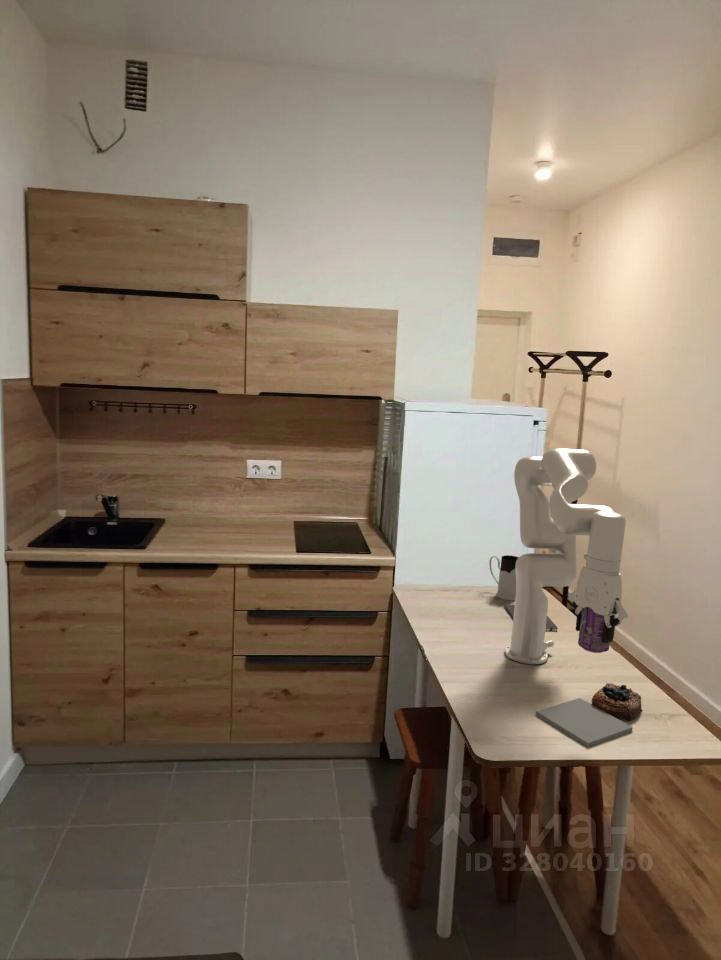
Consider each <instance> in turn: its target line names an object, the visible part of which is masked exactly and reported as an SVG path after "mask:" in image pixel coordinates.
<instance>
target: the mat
mask: <svg viewBox="0 0 721 960" xmlns="http://www.w3.org/2000/svg"><path fill="white" fill-rule="evenodd" d="M535 716H537V717H539V718H540V719H542V720H543V721H545V722H546V723H548V724H550V725H551V726H553V727H555V728H556V729H558V730H559V731H561V732H563V733H564V734H566V735H567V736H569V737H571V738H572V739H574V740H576V742H579V743H580V744H582V745H583V746H585V747H587V748H589V747H591V746H594V745H595V746H596V745H597V744H600V743H603V742H605V741H608V740H611V739H613V738H617V737H620V736H622V735H625V734H628V733H630V732H633V729H634V727H633V726H631V725H630V724H627V723H626V722H624V721H623V720H621V719H617V718H615V717H613V716H612V715H610V714H608V713H606V712H604V711H603V710H601V709H599V708H597V707H595V706H594V705H592V703H591V702H588V701H586V700H585V699H582V698H581V697H578V698H575V699H571V700H568V701H566V702H562V703H559V704H555V705H551V706H548V707H545V708H541V709H538V710H536V711H535Z"/></svg>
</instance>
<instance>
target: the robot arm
mask: <svg viewBox="0 0 721 960" xmlns="http://www.w3.org/2000/svg"><path fill="white" fill-rule="evenodd" d="M596 472H597V461H596V458H595V456H594V454H592V452H590V451H589V450H586V449H577V448H574V449H573V448H561V447H560V448H552V449H550V450H547V451H546V452H545V453H544V454H543V455H542V456H540V455H539V456H536V455H535V456H534V455H533V456H526V457H522V458H520V459H519V460H518V461H517V462H516V464H515V467H514V472H513V473H514V474H513V475H514V479H513V480H514V485H515V490H516V492H517V496H518V501H519V534H520V537H519V538H520V542H521V543H522V546H523V547H525V548H528V549H536V550H537V549H538V550H539V549H542V550H555V553H543V552H541V553H540V552H539V553H537V552H535V553H534V552H533V553H532V552H528V553H524V554H522V555H520V556H518V557H519V558H518V559H517V561H516V566H515V571H516V598H515V600H514V601H515V602H514V605H515V609H514V618H513V619H512V629H511V637H510V638H511V639H510V644H509V645H506V646H505V648H504V655H505V656H506V657H508V658H509V659H511V660H512V661H515V662H517V663H521V664H526V665H540V664H544V663H546V662H547V661H548V657H549V655H548V653H547V652H546V650H547V649H548V648H553V647H554V646H555V643H554V641H553V640H552V639H551V640H546V641H545V639H546V638H545V635H546V631H545V629H546V620H547V616H548V610H549V599H548V596H546V595H547V594H545V592H544V591H543V587H570V586H572V585H573V584H574V583H575V582H576V578H577V537H576V536H588V545H587V546H588V547H587V553H585V554H584V555H583V559H584V560H585V561H586V562H585V565H582V566H581V569H580V572H579V576H578V579H577V583H576V588H575V590H574V591H572V592H570V593H569V598H570V601H571V602H572V606H573V608H574V610H575V611H574V613H575V614H576V621H575V622H576V623H575V631H577V632H579V631H580V623H581V615H582V608H585V607H590V608H591V609H592V610H593V611H594V612H595V613H596V614H598V615H601V616H604V620H605V623H606V626H604V628H603V635H602V642H603V643H608V642H610V643H612V642H613V640H614V637H615V629H616V627H618V626H619V625H620V624H622V623H623V622H624V621H625V620H626V619H628V618H629V614H628V613H627V611H626V609H625V608H624V607H623V606H622V592H623V589H622V588H623V584H622V580H623V579H622V574H621V573H620V569H621V561H622V554H623V553H622V552H623V545H624V538H625V531H626V523H627V522H626V521H627V520H626V517H624V515H623V514H620V513H619V512H615V510H614V509H613V508H612V507H610V506H607V505H600V504H599V505H598V504H583V503H582V504H581V503H580V504H579V503H573V502H575V501H577V500H579V499H581V498H582V497H583V496H584V495H586V493H587V490H588V488H589V480H591V479H592V478H593V477H594V476H595V473H596ZM540 486H544V487H545V486H546V487H552V488H553V490H552V492H551V494H550V498H548V496H547V495H546V493H545V492H544V491H543V489H542V488H541V487H540ZM609 616H611V620H610V617H609Z"/></svg>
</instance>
